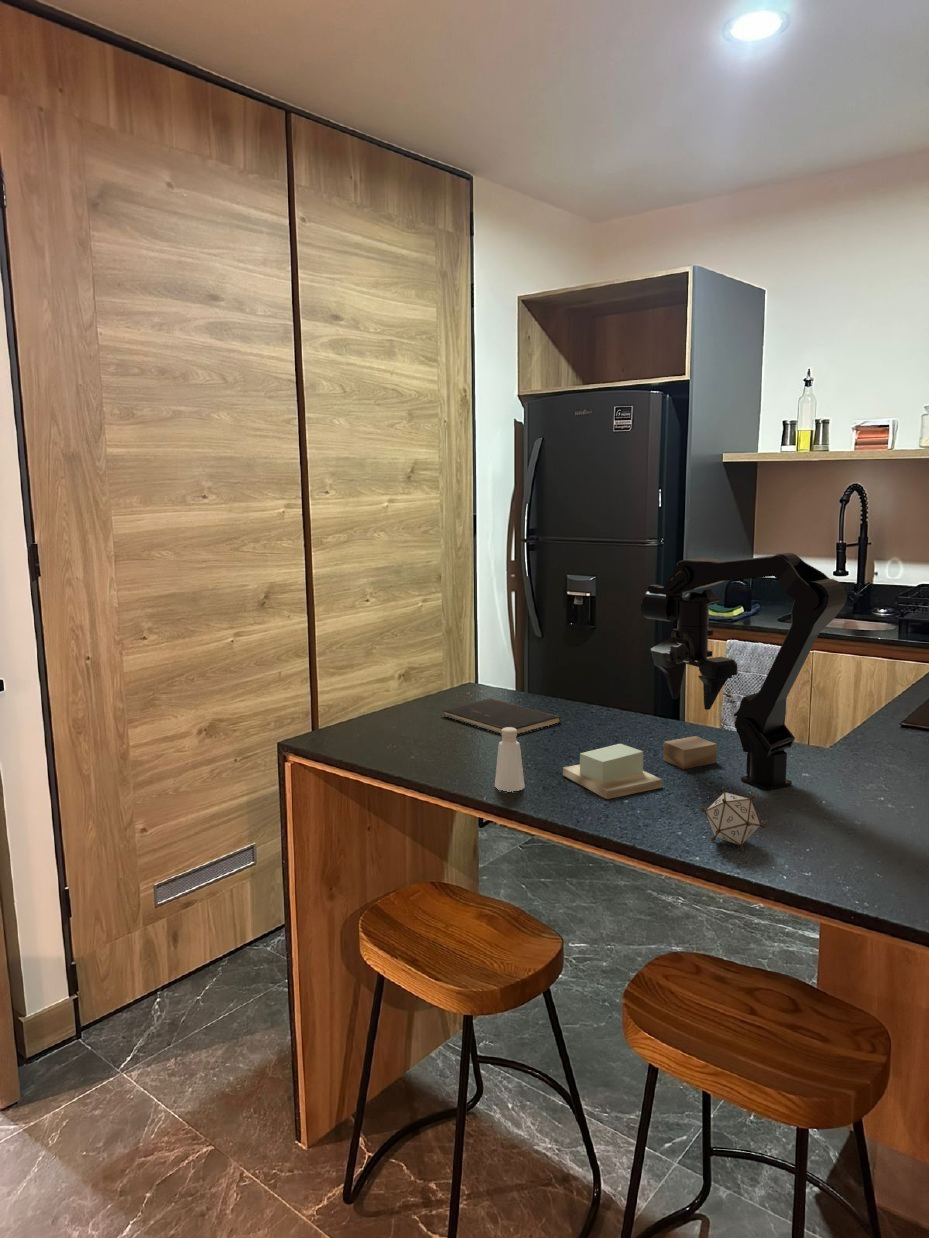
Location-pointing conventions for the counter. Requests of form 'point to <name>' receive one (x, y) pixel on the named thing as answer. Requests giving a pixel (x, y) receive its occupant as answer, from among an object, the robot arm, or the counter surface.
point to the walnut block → (690, 752)
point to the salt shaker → (509, 762)
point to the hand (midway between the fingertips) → (690, 704)
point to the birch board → (614, 783)
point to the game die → (732, 818)
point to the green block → (611, 763)
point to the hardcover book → (501, 715)
